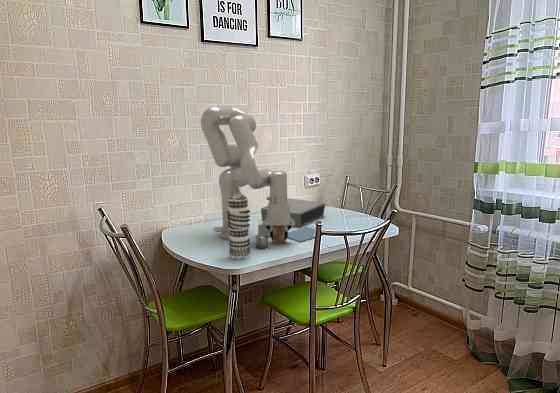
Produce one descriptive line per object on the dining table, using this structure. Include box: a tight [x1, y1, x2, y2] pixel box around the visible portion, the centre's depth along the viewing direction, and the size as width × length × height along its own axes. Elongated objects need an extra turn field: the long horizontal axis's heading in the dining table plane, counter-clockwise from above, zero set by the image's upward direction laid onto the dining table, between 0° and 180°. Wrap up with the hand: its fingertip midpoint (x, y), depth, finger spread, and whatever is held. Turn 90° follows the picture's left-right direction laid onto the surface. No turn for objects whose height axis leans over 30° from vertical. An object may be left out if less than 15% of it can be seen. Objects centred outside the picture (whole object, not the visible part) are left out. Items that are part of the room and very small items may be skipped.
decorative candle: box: [227, 193, 251, 260], centre depth 167 cm, size 9×9×25 cm
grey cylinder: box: [255, 234, 269, 250], centre depth 178 cm, size 5×5×5 cm
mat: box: [287, 226, 316, 243], centre depth 195 cm, size 18×14×1 cm
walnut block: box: [272, 226, 286, 245], centre depth 184 cm, size 5×5×8 cm
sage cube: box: [257, 220, 271, 238], centre depth 196 cm, size 6×6×6 cm
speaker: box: [260, 198, 326, 229], centre depth 223 cm, size 24×8×30 cm
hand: (279, 239), depth 185 cm, fingers closed on walnut block, 5 cm apart
